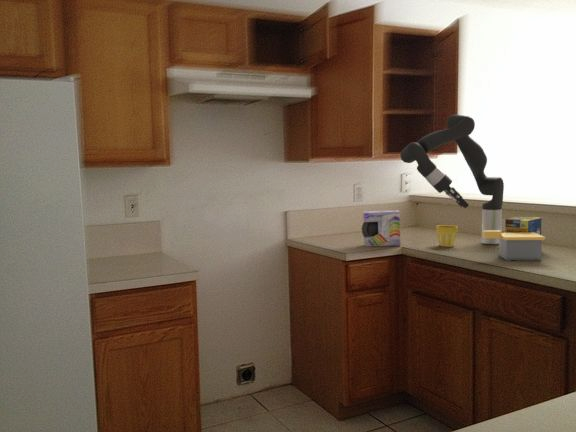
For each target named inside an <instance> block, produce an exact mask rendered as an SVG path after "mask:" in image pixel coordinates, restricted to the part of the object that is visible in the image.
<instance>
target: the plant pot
mask: <svg viewBox="0 0 576 432" xmlns="http://www.w3.org/2000/svg"><path fill="white" fill-rule="evenodd" d="M458 230H459V226H458V225H448V224H445V225H444V224H441V225H436V226H435V233H436V234H437V239H438V243H439V246H440V247H443V248H444V247H447V248H448V247H449V248H450V247H451V248H452V247H454V246H455V240H456V237H457V234H458Z"/></svg>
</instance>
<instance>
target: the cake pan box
mask: <svg viewBox="0 0 576 432" xmlns="http://www.w3.org/2000/svg"><path fill="white" fill-rule="evenodd" d="M362 215H363V222H362V226H361V232H362V233H361V234H362V235H363V243H364V247H389V246H401V245H402V241H401V212H400V210H398V209H397V210H366V211H365V210H364V211H363V214H362Z"/></svg>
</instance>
